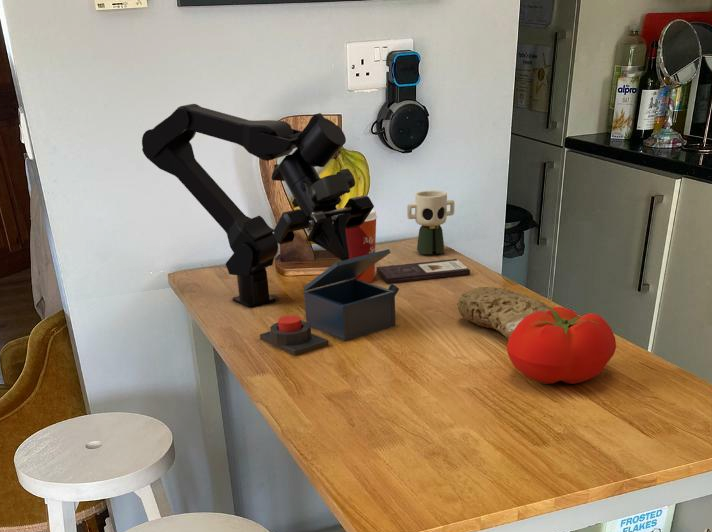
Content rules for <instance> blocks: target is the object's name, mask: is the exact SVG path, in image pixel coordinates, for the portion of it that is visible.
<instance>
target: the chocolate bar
mask: <svg viewBox="0 0 712 532" xmlns="http://www.w3.org/2000/svg"><path fill="white" fill-rule="evenodd" d="M375 268H376V273H377V274H378V275H379V277H381V279H382V280H383V281H384V282H385V283H386V284H394V283H402V282H403V283H404V282H411V281H420V280H421V281H423V280H430V279H441V278H449V277H457V276H459V277H460V276H467V275H471V270H470V269H469V267H467V266H466V265H464V264H463V263H462V262H461V261H460V260H458V259H457V258H450V259H441V260H432V261H423V262H422V261H421V262H413V263H404V264H403V263H402V264H392V265H383V266H375Z"/></svg>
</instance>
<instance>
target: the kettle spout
mask: <svg viewBox="0 0 712 532" xmlns="http://www.w3.org/2000/svg"><path fill="white" fill-rule="evenodd" d="M387 289H388V290H391V291H394V292H395V296H397V294H398V292H399V291H400V288H399V287H398V286H397V285H396V284H394V283H390V285H389V286H388V288H387Z"/></svg>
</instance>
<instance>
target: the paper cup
mask: <svg viewBox="0 0 712 532" xmlns="http://www.w3.org/2000/svg"><path fill="white" fill-rule="evenodd" d="M378 218H379V216H378V214H377V212H376V209H375V208H373V209H372V211H371V212H370V214H369V215H368V217H367V218H366V220H365V221H364V223H363V224H362V225H360V226H358V227H354V228H349V229H348V228H346V239H347V245H348V252H349V259H351V258H355V257H359V256H363V255H367V254H371V253H375V252H376V243H377V242H376V241H377V239H376V237H377V219H378ZM375 268H376V263H375V264H374V265H373V266H371V267H370V268H368V269H367V270H365V271H364V272H363V273H361V274H360V275H358V276H357V277H355V278H356V279H359V280H362V281H365V282H368V283H372V282H374V280H375ZM352 279H353V278H352ZM348 280H350V279H348Z"/></svg>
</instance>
